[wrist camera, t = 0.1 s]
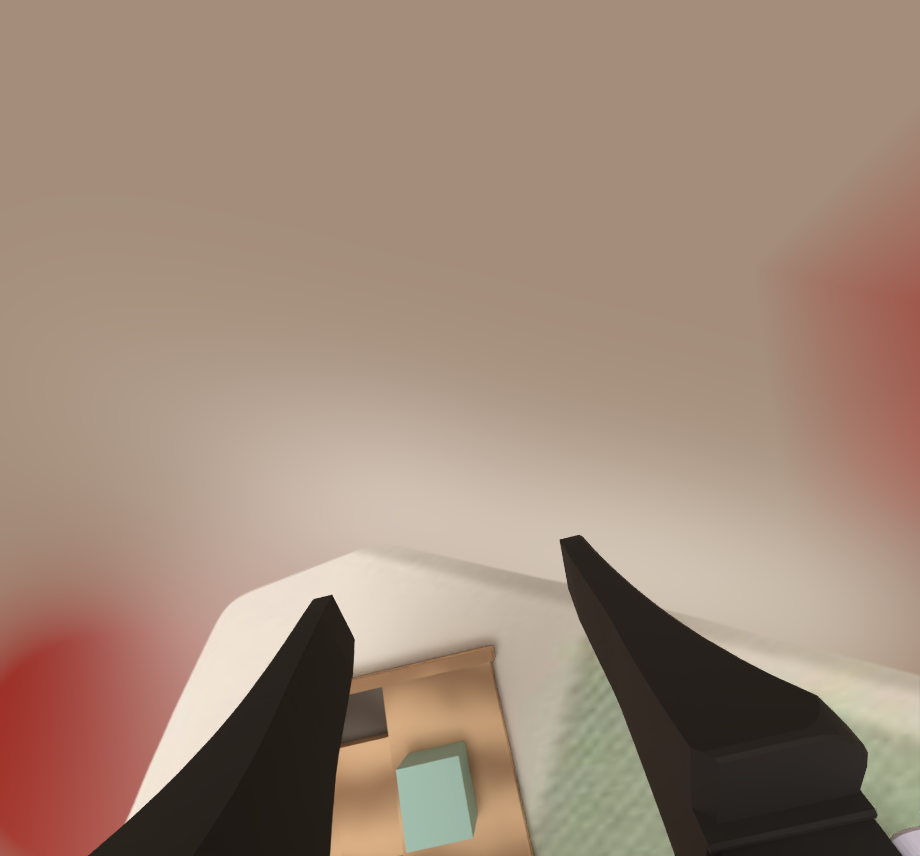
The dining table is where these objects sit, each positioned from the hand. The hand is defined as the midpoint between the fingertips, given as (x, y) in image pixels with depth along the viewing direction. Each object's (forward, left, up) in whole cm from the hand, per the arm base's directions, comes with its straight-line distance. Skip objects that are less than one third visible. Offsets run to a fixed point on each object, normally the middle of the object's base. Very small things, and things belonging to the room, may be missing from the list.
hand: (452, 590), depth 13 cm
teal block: (-13, +8, -30) cm, 33 cm away
